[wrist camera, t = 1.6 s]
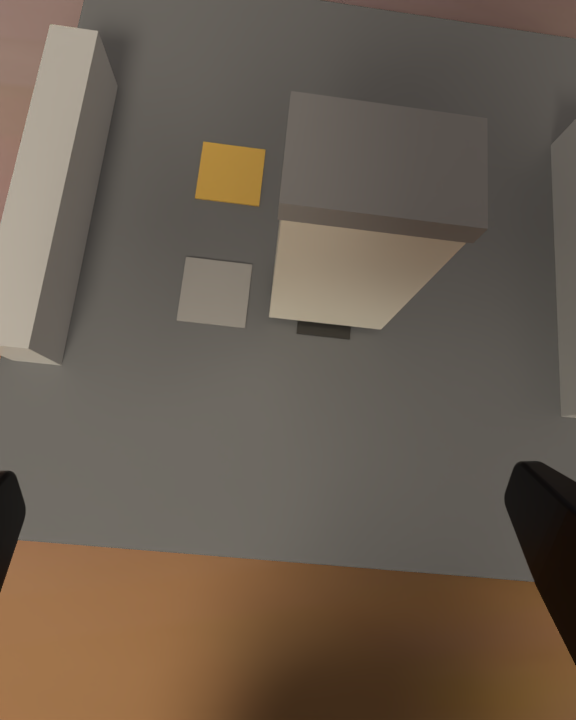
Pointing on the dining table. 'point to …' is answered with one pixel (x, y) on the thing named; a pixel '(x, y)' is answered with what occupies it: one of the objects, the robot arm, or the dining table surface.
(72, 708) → the dining table surface
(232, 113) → the breaker panel
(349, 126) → the beige rectangular block
